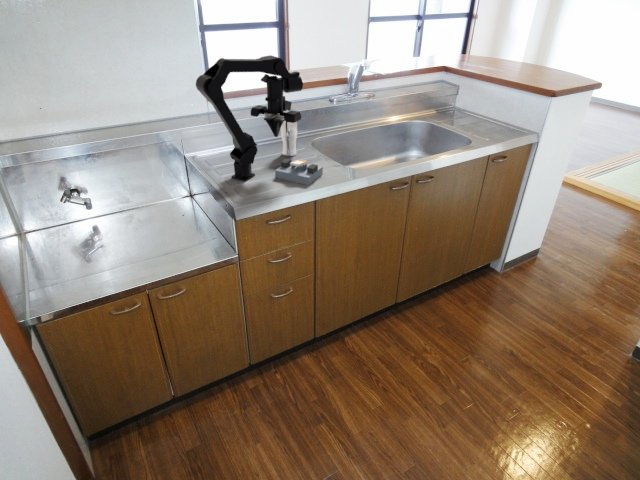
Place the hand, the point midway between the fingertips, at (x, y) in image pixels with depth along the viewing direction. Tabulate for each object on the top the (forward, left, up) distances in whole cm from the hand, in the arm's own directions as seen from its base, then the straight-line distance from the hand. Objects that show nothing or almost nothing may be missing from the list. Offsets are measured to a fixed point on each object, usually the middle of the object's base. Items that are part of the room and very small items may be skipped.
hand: (276, 136), depth 160 cm
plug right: (-2, -17, -10) cm, 19 cm away
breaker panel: (-2, -11, -13) cm, 17 cm away
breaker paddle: (-2, -11, -8) cm, 14 cm away
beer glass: (+17, +4, -13) cm, 22 cm away
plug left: (-2, -5, -10) cm, 11 cm away
